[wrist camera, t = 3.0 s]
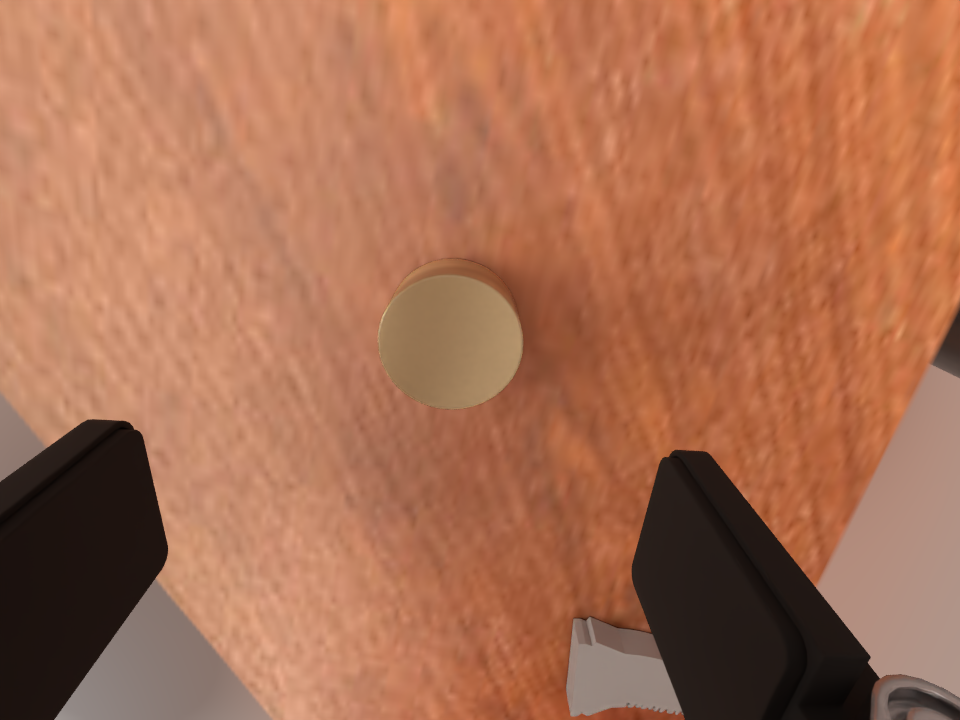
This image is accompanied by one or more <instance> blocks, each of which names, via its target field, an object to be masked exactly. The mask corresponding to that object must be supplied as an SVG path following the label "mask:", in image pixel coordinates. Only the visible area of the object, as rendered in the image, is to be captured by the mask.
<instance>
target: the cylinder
mask: <svg viewBox="0 0 960 720" xmlns="http://www.w3.org/2000/svg"><path fill="white" fill-rule="evenodd" d="M378 350H379V355H380V359H381V362H382V364H383V367H384V369H385V371H386V373H387V374H388V376H389V377H390V379H391V380H392V382H393V383H394V384H395V385H396V386H397V387H398V388H399V389H400V390H401V391H402V392H404V393H405V394H406V395H408V396H409V397H411V398H412V399H414V400H416V401H418V402H420V403H422V404H425V405H427V406H431V407H435V408H440V409H465V408H469V407H473V406H476V405H479V404H482V403H484V402H486V401H488V400H490V399H491V398H493V397H494V396H496V395H497V394H498V393H500V392H501V391H502V390H503V389H504V388H505V387H506V386H507V385H508V384H509V383H510V381H511V380H512V378H513V377H514V375H515V373H516V371H517V369H518V368H519V365H520V362H521V359H522V353H523V332H522V328H521V323H520V319H519V316H518V312H517V308H516V304H515V301H514V299H513V296H512V294H511V292H510V291H509V289H508V287H507V286H506V285H505V283H504V282H503V281H502V280H501V279H500V278H499V277H498V276H497V275H496V274H495V273H493V272H492V271H491V270H489V269H487V268H486V267H484V266H482V265H480V264H477V263H475V262H472V261H468V260H463V259H441V260H437V261H433V262H430V263H427V264H425V265H422V266H421V267H419V268H417V269H415V270H414V271H413V272H412V273H410V274H409V275H408V276H407V277H406V278H405V279H404V280H403V281H402V282H401V284H400V285H399V286H398V288H397V290H396V292H395V293H394V295H393V297H392V299H391V301H390V303H389V304H388V306H387V308H386V310H385V312H384V314H383V316H382V319H381V321H380V325H379V330H378Z"/></svg>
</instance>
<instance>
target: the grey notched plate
mask: <svg viewBox="0 0 960 720" xmlns="http://www.w3.org/2000/svg"><path fill="white" fill-rule="evenodd" d="M566 691H567V697H568V703H569V709H570V715H571V716H578V715H580V714H581V713H583V714H585V715H586V716H589V715H592V714H595V713H597V712H600V711H603V710H606V709H609V708H611V707H625V706H628V708H631V707H633V706H634V705H635V706H636V708H639V707H641V709H646V708H648V709H649V710H651V709H652V708H653V711H655V712H656V711H657V710H659V712H663V711H664V710H667V713H670V714H672V713H673V712H674V711H675V714H676V715H678V714H679V712H681V713H682V715H683V712H682V710H681V707H680V704H679V702H678V699H677V697H676V694H675V691H674V689H673V686H672V684H671V681H670V678H669V676H668V673H667V671H666V668H665V665H664V663H663V660H662V658H661V655H660V652H659V650H658V647H657V645H656V642H655V639H654V637H653V634H650V633H646V632H641V631H636V630H629V629H619V628H616V627H613V626H611V625H609V624H606V623H604V622H601V621H599V620H597V619H594V618H592V617H589V618H588V619H587V620H586V621H585V620H583V619H573V628H572V638H571V648H570V657H569V667H568V676H567V686H566Z"/></svg>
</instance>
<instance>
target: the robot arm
mask: <svg viewBox="0 0 960 720" xmlns="http://www.w3.org/2000/svg"><path fill="white" fill-rule="evenodd" d="M167 555H168V545H167V540H166V536H165V531H164V527H163V523H162V518H161V514H160V510H159V505H158V501H157V496H156V492H155V488H154V483H153V479H152V474H151V470H150V466H149V461H148V457H147V452H146V448H145V444H144V439H143V436H142V434H141V433H140V432H139V431H137V430H134V428H133V426H132V425H131V424H130V423H129V422H126V421H114V420H95V419H92V420H87V421H85V422H83V423H81V424H80V425H78V426H77V427H76V428H74V429H73V430H71V431H70V432H69V433H67V434H66V435H64V436H63V437H62V438H60V439H59V440H58V441H56V442H55V443H53V444H52V445H51V446H49V447H48V448H46V449H45V450H44V451H42V452H41V453H40V454H38V455H37V456H35V457H34V458H33V459H31V460H30V461H28V462H27V463H26V464H24V465H23V466H22V467H20V468H19V469H17V470H16V471H15V472H13V473H12V474H11V475H9V476H8V477H6V478H5V479H4V480H2V481H1V482H0V720H54V719H55V718H56V716H57V715H58V714H59V712H60V711H61V709H62V708H63V706H64V705H65V704H66V702H67V701H68V699H69V698H70V697H71V695H72V694H73V693H74V691H75V690H76V688H77V687H78V686H79V684H80V683H81V681H82V680H83V679H84V677H85V676H86V674H87V673H88V672H89V670H90V669H91V668H92V666H93V665H94V663H95V662H96V661H97V659H98V658H99V656H100V655H101V654H102V652H103V651H104V649H105V648H106V646H107V645H108V644H109V642H110V641H111V640H112V638H113V637H114V635H115V634H116V632H117V631H118V630H119V628H120V627H121V626H122V624H123V623H124V621H125V620H126V618H127V617H128V616H129V614H130V613H131V612H132V610H133V609H134V607H135V606H136V605H137V603H138V602H139V600H140V599H141V598H142V596H143V595H144V593H145V592H146V591H147V589H148V588H149V587H150V585H151V584H152V582H153V581H154V580H155V578H156V577H157V575H158V574H159V573H160V571H161V570H162V568H163V566H164V564H165V562H166V559H167ZM632 580H633V584H634V587H635V590H636V592H637V595H638V598H639V600H640V603H641V606H642V608H643V611H644V613H645V616H646V619H647V621H648V624H649V626H650V629H651V632H652V634H653V637H654V639H655V642H656V645H657V647H658V650H659V652H660V655H661V658H662V660H663V663H664V665H665V668H666V671H667V673H668V676H669V678H670V681H671V684H672V686H673V689H674V691H675V694H676V697H677V699H678V702H679V704H680V707H681V710H682V712H683V715H684V718H685V720H960V698H959V697H957V696H955V695H954V694H952V693H950V692H949V691H947V690H946V689H944V688H942V687H939V686H937V685H935V684H932V683H930V682H928V681H925V680H923V679H920V678H915V677H911V676H907V675H901V674H899V675H886V676H884V677H883V678H881V679H880V678H879V677H878V676H877V674H876V673H875V672H874V671H873V669H872V668H871V667H870V665H869V664H868V661H869V659H870V655H869V654H868V653H867V652H866V650H865V649H864V648H863V647H862V645H861V644H860V643H859V642H858V640H857V639H856V638H855V637H854V635H853V634H852V633H851V631H850V630H849V629H848V628H847V627H846V625H845V624H844V623H843V622H842V620H841V619H840V618H839V616H838V615H837V614H836V613H835V611H834V610H833V609H832V608H831V606H830V605H829V604H828V603H827V601H826V600H825V599H824V597H822V595H821V594H820V593H819V591H818V590H817V589H816V587H815V586H814V585H813V584H812V582H811V581H810V580H809V579H808V577H807V576H806V575H805V574H804V572H803V571H802V570H801V568H800V567H799V566H798V565H797V563H796V562H795V561H794V560H793V558H792V557H791V556H790V555H789V553H788V552H787V551H786V550H785V548H784V547H783V546H782V545H781V543H780V542H779V541H778V540H777V538H776V537H775V536H774V534H773V533H772V532H771V531H770V529H769V528H768V527H767V526H766V524H765V523H764V522H763V521H762V519H761V518H760V517H759V516H758V514H757V513H756V512H755V511H754V509H753V508H752V507H751V505H750V504H749V503H748V502H747V500H746V499H745V498H744V497H743V495H742V494H741V493H740V492H739V490H738V489H737V488H736V487H735V485H734V484H733V483H732V482H731V480H730V479H729V478H728V477H727V475H726V474H725V473H724V471H723V470H722V469H721V468H720V466H719V465H718V464H717V463H716V461H715V460H714V459H713V458H712V456H711V455H710V454H709V453H707V452H704V451H686V450H675V451H673V452H672V453H671V454H670V456H669V457H664V458H663V459H662V460H661V462H660V464H659V468H658V471H657V475H656V479H655V483H654V486H653V490H652V494H651V497H650V501H649V505H648V508H647V512H646V516H645V519H644V523H643V527H642V530H641V534H640V538H639V542H638V545H637V549H636V553H635V556H634V560H633V564H632Z"/></svg>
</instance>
